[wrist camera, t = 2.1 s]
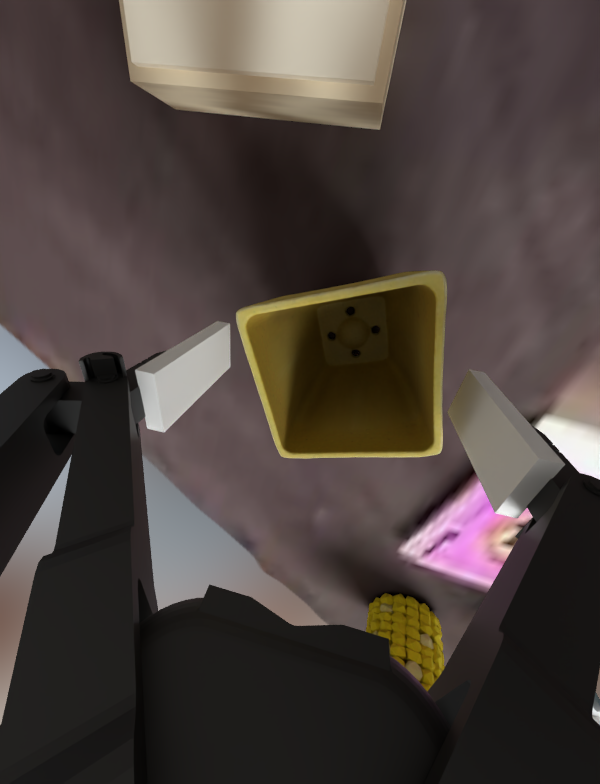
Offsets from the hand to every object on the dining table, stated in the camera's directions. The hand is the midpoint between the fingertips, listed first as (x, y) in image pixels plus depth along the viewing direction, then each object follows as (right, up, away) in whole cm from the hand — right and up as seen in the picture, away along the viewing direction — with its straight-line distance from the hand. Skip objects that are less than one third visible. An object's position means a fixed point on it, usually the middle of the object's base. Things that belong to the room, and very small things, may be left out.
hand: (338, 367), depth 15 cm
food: (+12, -32, +23) cm, 41 cm away
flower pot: (+2, +3, +5) cm, 7 cm away
